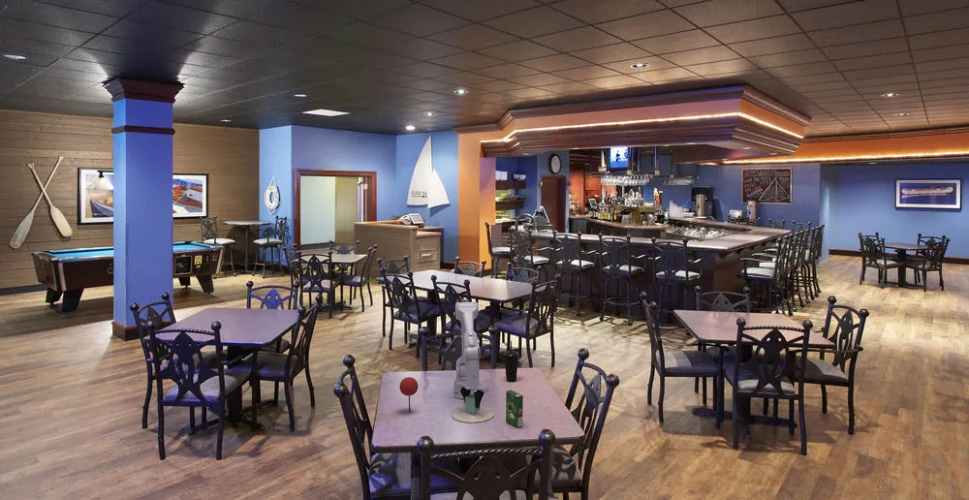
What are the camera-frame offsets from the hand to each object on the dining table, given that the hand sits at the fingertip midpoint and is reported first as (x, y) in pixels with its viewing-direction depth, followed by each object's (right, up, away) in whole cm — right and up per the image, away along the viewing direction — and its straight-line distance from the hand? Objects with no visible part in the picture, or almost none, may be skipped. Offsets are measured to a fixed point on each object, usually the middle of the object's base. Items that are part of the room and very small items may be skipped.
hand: (472, 406), depth 245 cm
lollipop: (-27, -4, +4) cm, 28 cm away
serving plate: (0, -4, 0) cm, 4 cm away
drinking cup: (+18, +1, +44) cm, 48 cm away
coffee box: (+17, -5, -10) cm, 20 cm away
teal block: (0, -2, 0) cm, 2 cm away
